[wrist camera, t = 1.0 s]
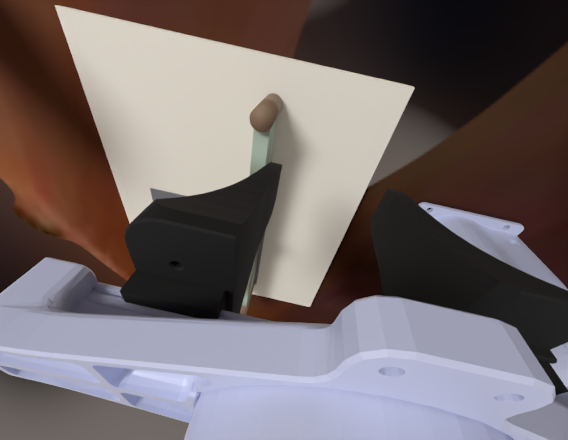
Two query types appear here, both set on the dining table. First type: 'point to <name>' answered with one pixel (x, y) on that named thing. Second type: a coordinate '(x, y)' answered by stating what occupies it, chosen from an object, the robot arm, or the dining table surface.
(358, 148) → the board
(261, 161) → the hinged fence section
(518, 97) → the dining table surface
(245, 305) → the fixed fence section
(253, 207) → the robot arm
